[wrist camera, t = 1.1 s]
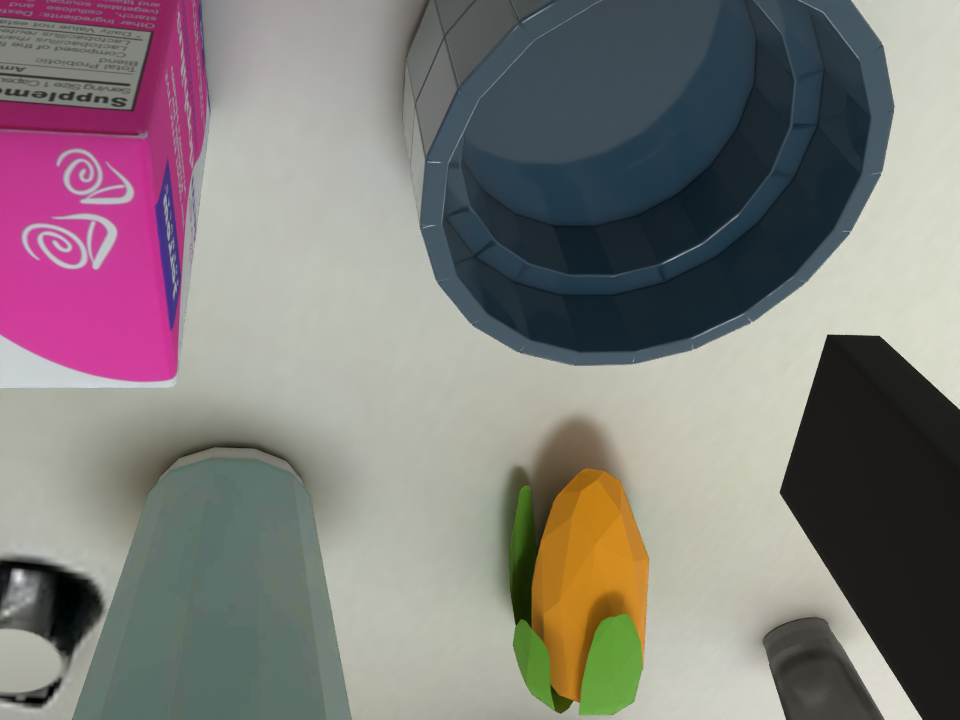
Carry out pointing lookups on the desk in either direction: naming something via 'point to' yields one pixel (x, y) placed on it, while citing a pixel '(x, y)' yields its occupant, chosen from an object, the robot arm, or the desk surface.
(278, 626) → the disposable coffee cup
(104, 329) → the supplement box
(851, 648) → the desk surface
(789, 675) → the beverage cup
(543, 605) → the corn
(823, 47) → the bowl
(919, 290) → the desk surface
